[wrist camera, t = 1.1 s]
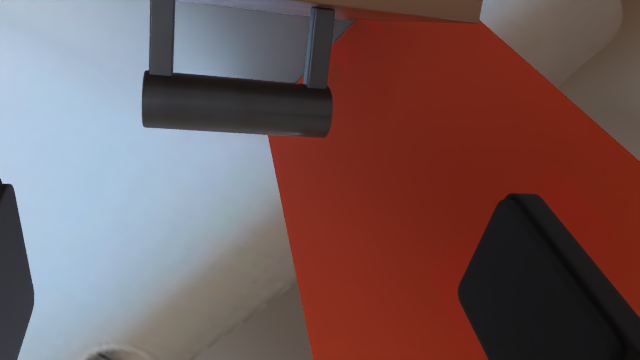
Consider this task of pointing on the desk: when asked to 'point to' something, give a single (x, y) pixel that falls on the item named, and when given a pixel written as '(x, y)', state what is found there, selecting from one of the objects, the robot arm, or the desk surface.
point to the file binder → (437, 186)
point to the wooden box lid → (269, 96)
